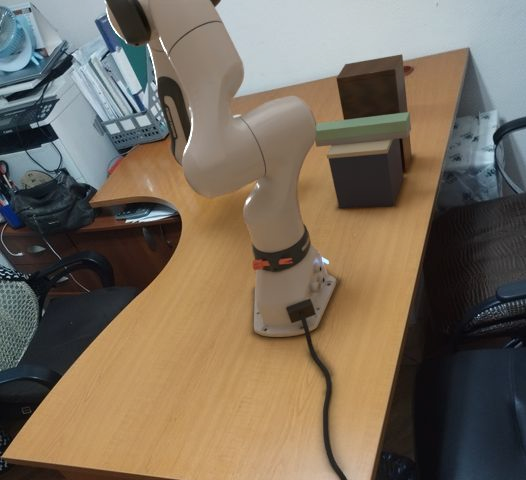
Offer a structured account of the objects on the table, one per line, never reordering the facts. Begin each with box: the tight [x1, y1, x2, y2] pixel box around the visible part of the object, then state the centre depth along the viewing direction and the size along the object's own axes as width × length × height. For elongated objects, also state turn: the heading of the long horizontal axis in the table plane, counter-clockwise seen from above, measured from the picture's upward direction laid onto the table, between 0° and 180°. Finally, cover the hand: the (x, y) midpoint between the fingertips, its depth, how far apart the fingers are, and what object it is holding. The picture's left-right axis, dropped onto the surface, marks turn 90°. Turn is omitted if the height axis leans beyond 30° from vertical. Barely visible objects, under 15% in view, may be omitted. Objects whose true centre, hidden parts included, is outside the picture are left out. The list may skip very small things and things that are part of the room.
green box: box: [314, 111, 412, 148], centre depth 120 cm, size 22×4×4 cm, turn 66°
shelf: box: [336, 53, 413, 174], centre depth 130 cm, size 14×8×26 cm, turn 66°
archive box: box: [326, 139, 404, 209], centre depth 126 cm, size 14×12×15 cm
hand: (288, 129), depth 125 cm, fingers open, 8 cm apart
